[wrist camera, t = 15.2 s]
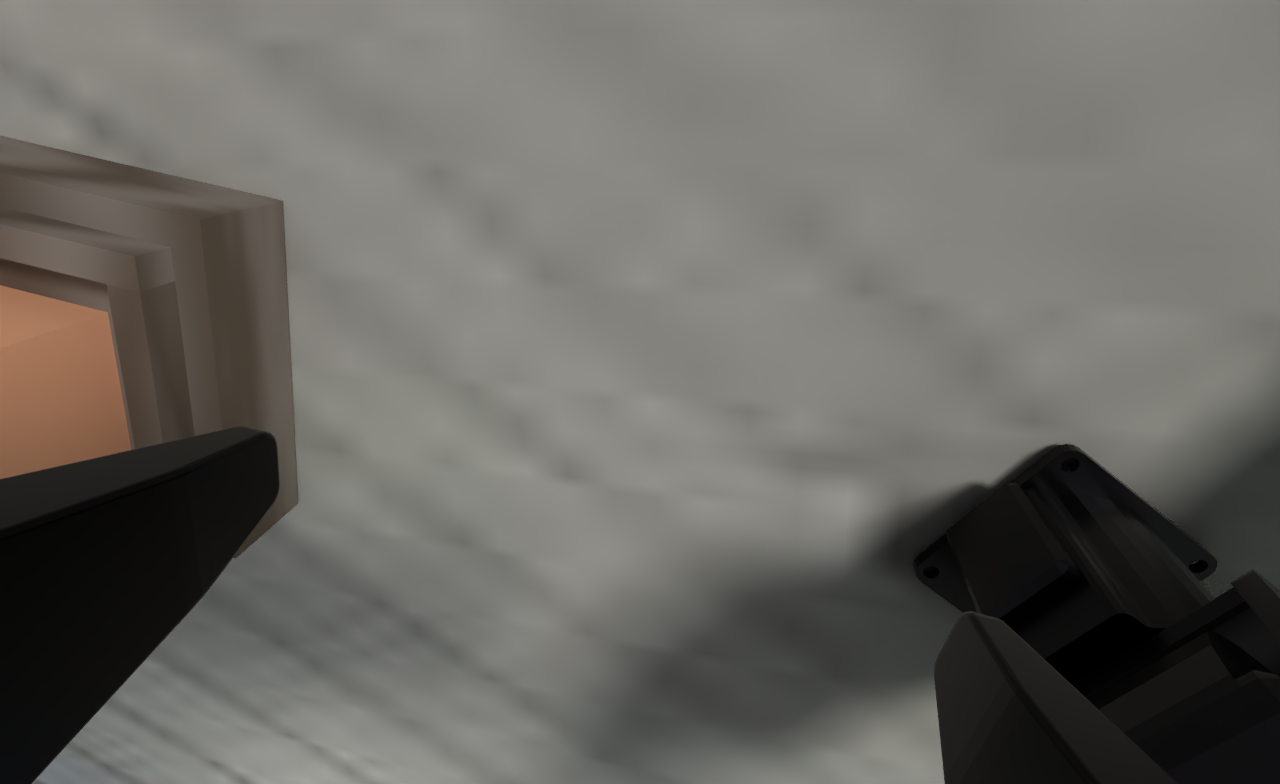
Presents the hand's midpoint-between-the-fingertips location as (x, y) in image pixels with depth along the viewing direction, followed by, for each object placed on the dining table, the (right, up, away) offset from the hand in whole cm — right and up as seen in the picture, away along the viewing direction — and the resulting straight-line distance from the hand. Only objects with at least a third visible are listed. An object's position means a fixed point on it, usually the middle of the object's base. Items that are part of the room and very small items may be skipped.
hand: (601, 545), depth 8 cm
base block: (-18, +4, +16) cm, 24 cm away
